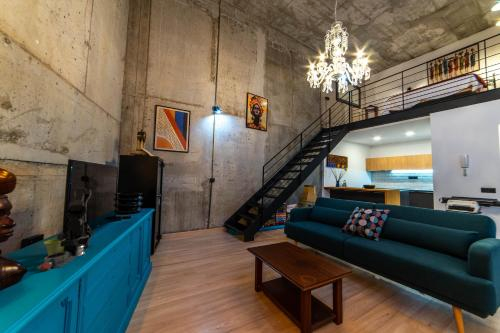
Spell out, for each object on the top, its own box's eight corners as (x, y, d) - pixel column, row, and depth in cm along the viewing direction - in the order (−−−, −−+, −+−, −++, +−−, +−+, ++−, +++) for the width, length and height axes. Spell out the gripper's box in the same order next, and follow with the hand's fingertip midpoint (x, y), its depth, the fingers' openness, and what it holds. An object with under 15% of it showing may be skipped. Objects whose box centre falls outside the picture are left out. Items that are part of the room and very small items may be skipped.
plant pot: (47, 260, 109) (46, 244, 109) (42, 257, 113) (41, 241, 114) (69, 253, 117) (68, 238, 117) (63, 250, 121) (63, 236, 122)
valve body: (56, 259, 109) (56, 251, 109) (77, 257, 111) (76, 248, 111) (33, 272, 95) (32, 262, 95) (57, 269, 97) (57, 259, 97)
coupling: (76, 253, 116) (76, 245, 116) (86, 252, 117) (86, 244, 117) (70, 257, 111) (69, 248, 111) (80, 256, 112) (80, 247, 112)
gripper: (72, 223, 122) (73, 248, 121) (47, 232, 103) (49, 262, 103) (93, 221, 124) (94, 246, 123) (72, 229, 105) (73, 259, 105)
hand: (78, 253), depth 114 cm, fingers open, 7 cm apart
